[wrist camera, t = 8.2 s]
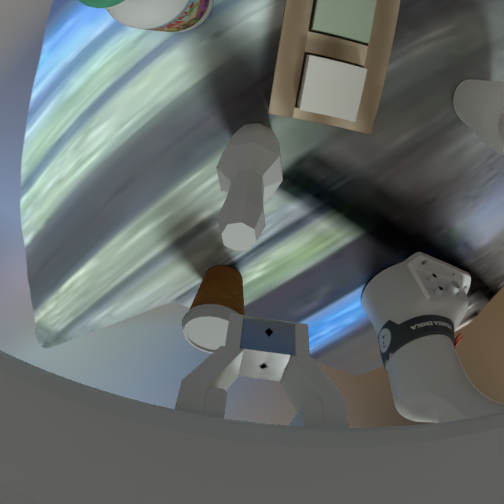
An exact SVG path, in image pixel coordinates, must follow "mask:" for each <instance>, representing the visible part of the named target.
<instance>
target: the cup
mask: <svg viewBox="0 0 504 504" xmlns="http://www.w3.org/2000/svg"><path fill="white" fill-rule="evenodd" d="M453 104H454V109H455V112H456V114H457V116H458V117H459V118H460V119H461V120H462V121H463V122H464V123H465V124H466V125H467V126H468V127H470V128H471V129H472V130H473V131H474V132H475V133H476V134H477V135H478V136H479V137H480V138H481V139H482V140H484V141H485V142H486V143H487V144H488V145H489V146H490V147H491V148H492V149H493V150H494V151H495V152H497V153H498V154H500V155H502V156H504V82H496V81H485V80H471V79H469V80H465V81H463V82H461V83H460V84H459V85H458V86H457V88H456V90H455V93H454V97H453Z"/></svg>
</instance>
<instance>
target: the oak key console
mask: <svg viewBox="0 0 504 504" xmlns="http://www.w3.org/2000/svg"><path fill="white" fill-rule="evenodd" d="M313 1H314V0H286V4H285V10H284V16H283V22H282V28H281V34H280V40H279V46H278V53H277V59H276V65H275V71H274V77H273V84H272V90H271V96H270V102H269V112H268V114H272V115H279V116H285V117H291V118H296V119H302V120H307V121H312V122H317V123H322V124H327V125H332V126H336V127H341V128H345V129H349V130H353V131H358V132H362V133H366V134H369V135H371V134H372V130H373V126H374V123H375V119H376V115H377V111H378V107H379V103H380V99H381V95H382V90H383V86H384V82H385V77H386V73H387V68H388V64H389V59H390V54H391V50H392V45H393V40H394V34H395V29H396V24H397V18H398V12H399V6H400V0H377V1H376V7H375V13H374V19H373V24H372V29H371V35H370V40H369V43H357V42H353V41H349V40H346V39H342V38H338V37H334V36H329V35H325V34H321V33H316V32H311V31H309V25H310V19H311V13H312V7H313ZM305 55H312V56H316V57H321V58H326V59H330V60H334V61H338V62H342V63H346V64H350V65H354V66H358V67H361V68H365V69H367V74H366V78H365V83H364V87H363V92H362V96H361V100H360V105H359V109H358V113H357V117H356V121H355V122H353V121H349V120H345V119H341V118H336V117H332V116H327V115H323V114H318V113H313V112H308V111H302V110H299V108H298V105H297V99H298V94H299V88H300V83H301V77H302V72H303V66H304V61H305Z"/></svg>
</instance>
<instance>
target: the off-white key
mask: <svg viewBox="0 0 504 504" xmlns="http://www.w3.org/2000/svg"><path fill="white" fill-rule="evenodd" d="M366 74H367V69H365V68H361V67H358V66H354V65H350V64H346V63H342V62H338V61H334V60H330V59H326V58H321V57H316V56H312V55H305V61H304V66H303V72H302V77H301V83H300V88H299V94H298V99H297V105H298V108H299V110H302V111H308V112H313V113H318V114H323V115H327V116H332V117H336V118H341V119H345V120H349V121H353V122H355V121H356V117H357V113H358V109H359V105H360V100H361V96H362V92H363V87H364V83H365V78H366Z"/></svg>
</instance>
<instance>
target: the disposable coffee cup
mask: <svg viewBox="0 0 504 504" xmlns="http://www.w3.org/2000/svg"><path fill="white" fill-rule="evenodd" d="M242 283H243V280H242V277H241V275H240V273H239V272H238V271H237V270H235V269H234V268H232V267H229V266H223V265H219V266H214V267H212V268H210V269H209V270H208V271H207V272H206V274H205V277H204V279H203V281H202V283H201V285H200V288H199V290H198V292H197V294H196V297H195V299H194V301H193V303H192V305H191V308H190V310H189V311H188V312H187V313H186V314H185V316H184V318H183V319H182V329H183V333H184V337H185V339H186V340H187V341H188V342H189V343H190V344H191V345H192V346H193V347H195V348H197V349H199V350H201V351H204V352H208V353H213V352H214V351H216V350H217V349H218V348H219V347H220V346H225V341H226V335H227V329H228V323H229V317H230V313H235V314H240V315H243V316H244V298H243V284H242Z"/></svg>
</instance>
